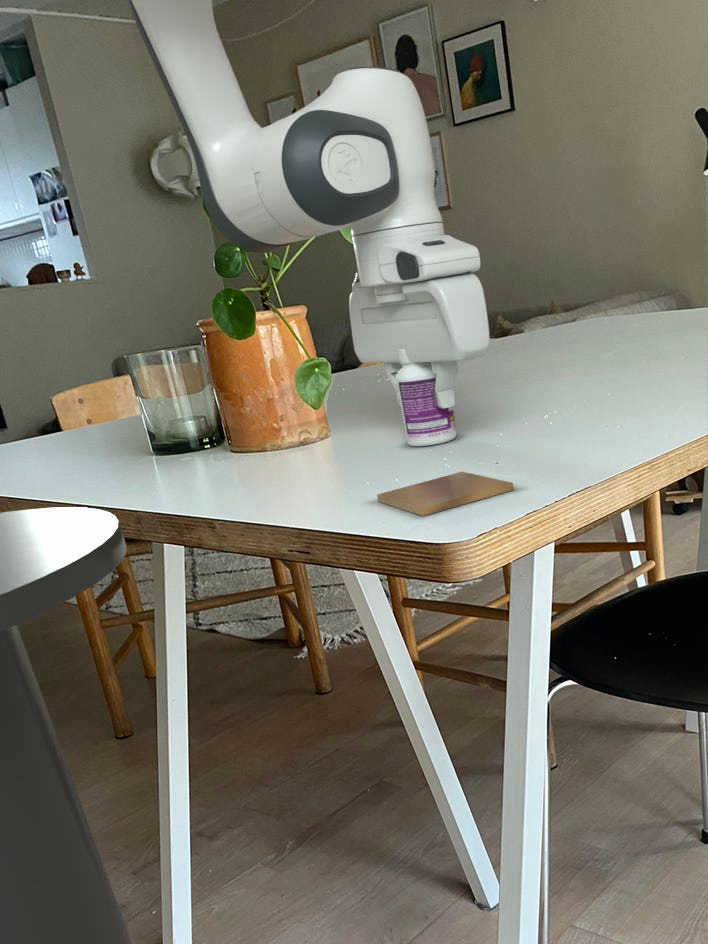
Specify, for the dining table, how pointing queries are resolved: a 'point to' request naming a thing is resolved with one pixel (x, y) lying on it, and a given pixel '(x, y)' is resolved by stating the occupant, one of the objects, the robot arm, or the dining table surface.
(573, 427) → the dining table surface
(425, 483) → the coaster
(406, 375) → the pill bottle
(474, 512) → the dining table surface
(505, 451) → the dining table surface
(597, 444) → the dining table surface
